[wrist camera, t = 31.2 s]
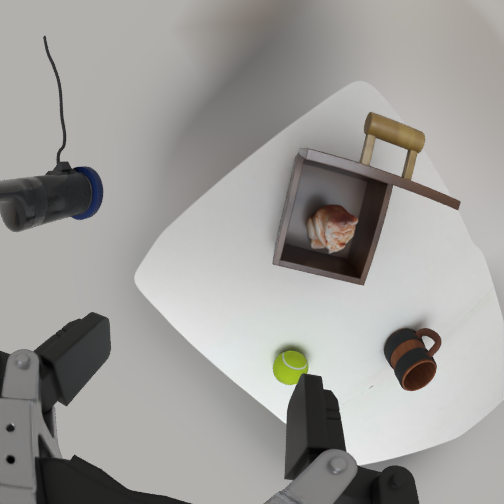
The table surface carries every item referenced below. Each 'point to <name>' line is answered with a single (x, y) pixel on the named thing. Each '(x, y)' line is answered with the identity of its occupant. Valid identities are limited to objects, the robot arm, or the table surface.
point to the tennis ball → (290, 367)
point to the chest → (321, 194)
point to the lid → (395, 135)
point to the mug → (412, 357)
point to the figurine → (331, 227)
